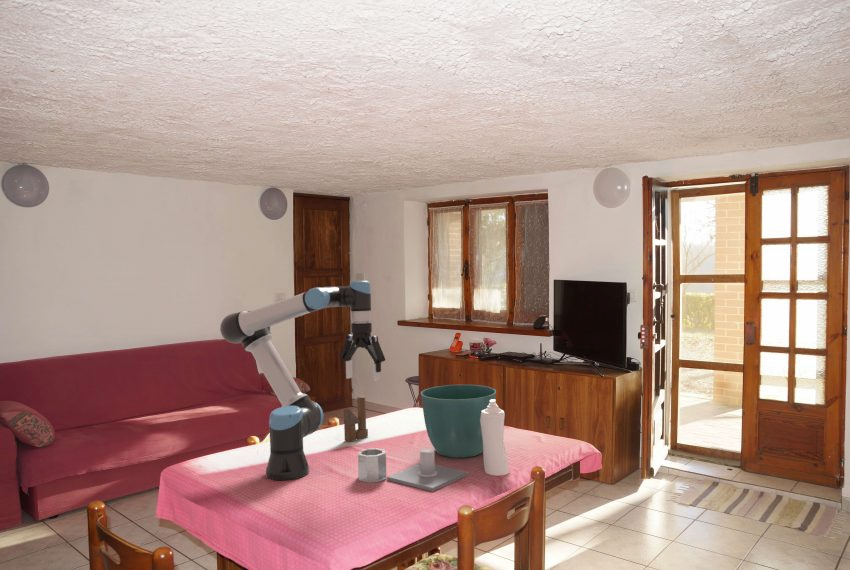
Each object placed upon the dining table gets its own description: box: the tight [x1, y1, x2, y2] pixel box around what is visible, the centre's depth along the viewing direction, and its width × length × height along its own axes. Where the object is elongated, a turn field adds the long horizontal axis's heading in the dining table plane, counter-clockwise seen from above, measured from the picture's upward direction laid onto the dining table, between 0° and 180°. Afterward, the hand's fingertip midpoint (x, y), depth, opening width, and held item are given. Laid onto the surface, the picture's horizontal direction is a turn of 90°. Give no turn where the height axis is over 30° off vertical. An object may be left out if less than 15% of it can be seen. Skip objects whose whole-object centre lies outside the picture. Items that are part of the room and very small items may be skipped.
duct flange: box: [386, 448, 469, 493], centre depth 213 cm, size 20×20×9 cm
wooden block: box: [343, 395, 369, 443], centre depth 267 cm, size 4×11×18 cm, turn 139°
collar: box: [357, 447, 387, 484], centre depth 214 cm, size 10×10×9 cm
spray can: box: [480, 399, 510, 477], centre depth 219 cm, size 12×11×25 cm
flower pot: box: [420, 384, 497, 459], centre depth 243 cm, size 30×30×24 cm
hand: (362, 379), depth 227 cm, fingers open, 13 cm apart
